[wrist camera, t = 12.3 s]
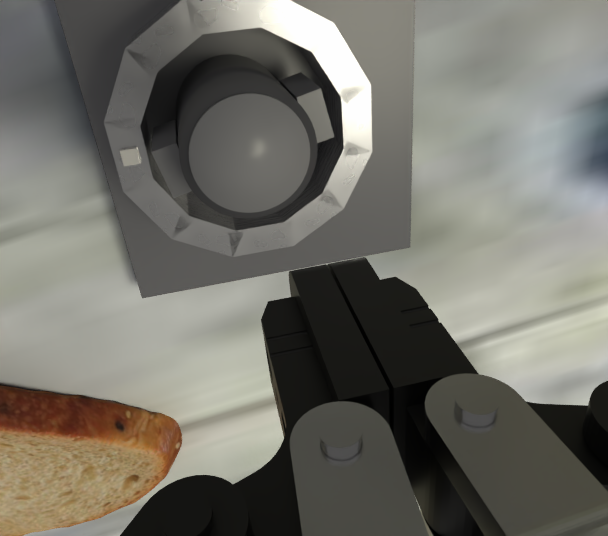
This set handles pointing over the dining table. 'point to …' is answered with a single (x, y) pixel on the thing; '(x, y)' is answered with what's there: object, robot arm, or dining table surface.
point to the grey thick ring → (330, 153)
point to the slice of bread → (76, 458)
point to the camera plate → (281, 64)
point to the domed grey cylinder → (242, 137)
